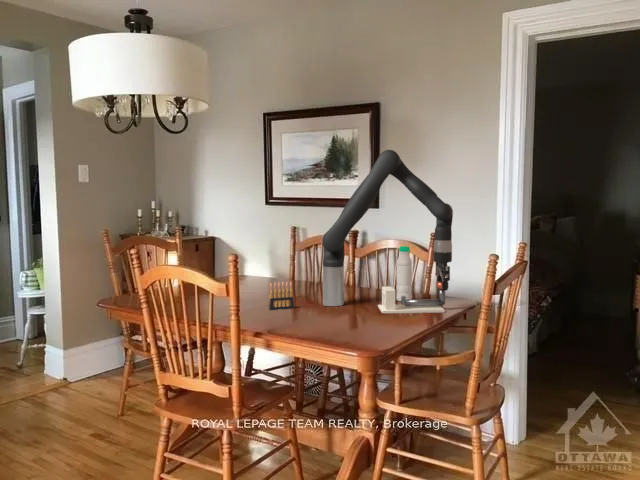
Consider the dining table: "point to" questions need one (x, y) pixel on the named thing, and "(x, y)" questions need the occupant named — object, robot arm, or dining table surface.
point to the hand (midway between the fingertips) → (442, 288)
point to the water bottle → (404, 274)
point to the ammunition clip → (281, 297)
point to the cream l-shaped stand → (391, 307)
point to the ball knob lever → (427, 301)
